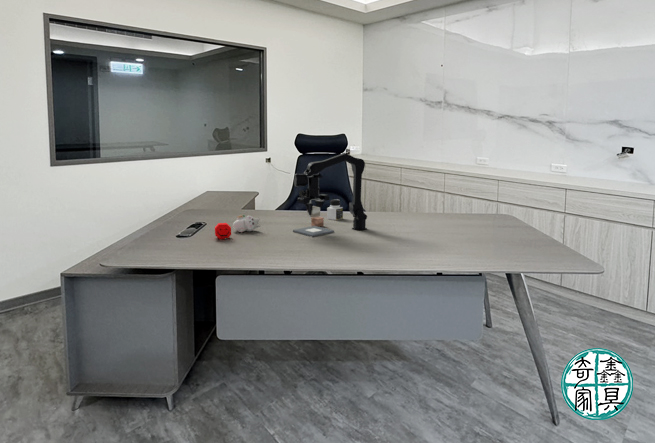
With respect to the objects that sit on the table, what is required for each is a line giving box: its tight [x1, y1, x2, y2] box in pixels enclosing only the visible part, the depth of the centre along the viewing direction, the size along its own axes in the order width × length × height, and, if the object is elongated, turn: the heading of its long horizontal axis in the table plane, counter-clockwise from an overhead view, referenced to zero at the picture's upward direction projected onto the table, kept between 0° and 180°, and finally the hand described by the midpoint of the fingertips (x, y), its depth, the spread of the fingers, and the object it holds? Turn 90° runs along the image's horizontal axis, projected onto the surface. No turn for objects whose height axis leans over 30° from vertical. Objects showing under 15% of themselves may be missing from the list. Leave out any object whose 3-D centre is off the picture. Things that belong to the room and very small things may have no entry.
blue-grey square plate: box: [292, 226, 335, 238], centre depth 271 cm, size 16×16×1 cm
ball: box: [214, 222, 232, 240], centre depth 256 cm, size 8×8×8 cm
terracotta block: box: [310, 216, 325, 227], centre depth 286 cm, size 5×5×5 cm
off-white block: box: [306, 205, 321, 218], centre depth 269 cm, size 5×5×5 cm
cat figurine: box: [232, 214, 261, 233], centre depth 272 cm, size 10×8×15 cm
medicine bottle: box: [326, 198, 344, 221], centre depth 306 cm, size 7×7×12 cm
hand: (313, 214), depth 269 cm, fingers closed on off-white block, 5 cm apart
